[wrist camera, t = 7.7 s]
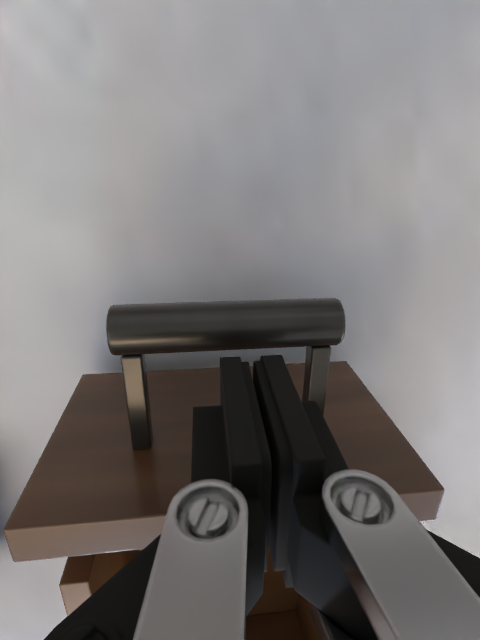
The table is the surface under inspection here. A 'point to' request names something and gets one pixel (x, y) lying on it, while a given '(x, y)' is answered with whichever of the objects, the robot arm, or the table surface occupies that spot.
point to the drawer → (176, 443)
